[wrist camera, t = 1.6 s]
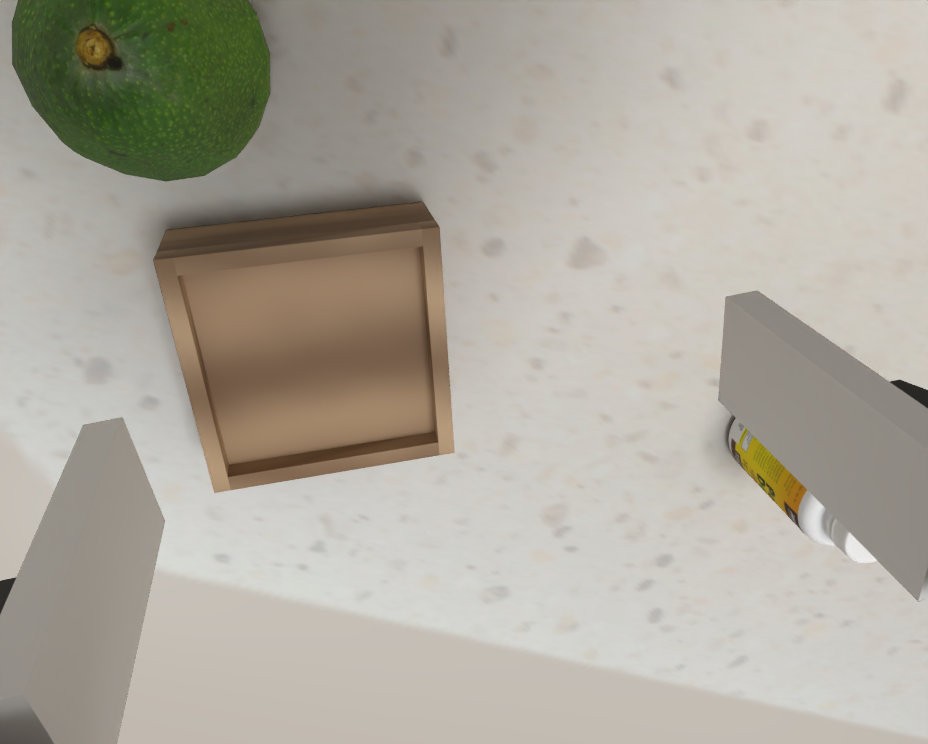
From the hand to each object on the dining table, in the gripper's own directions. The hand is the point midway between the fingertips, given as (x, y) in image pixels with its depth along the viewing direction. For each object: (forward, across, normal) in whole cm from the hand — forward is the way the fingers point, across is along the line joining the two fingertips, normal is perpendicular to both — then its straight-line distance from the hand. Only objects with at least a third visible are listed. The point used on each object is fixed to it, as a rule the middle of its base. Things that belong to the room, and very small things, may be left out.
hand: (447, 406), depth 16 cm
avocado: (+20, -7, +6) cm, 22 cm away
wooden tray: (+20, -4, -7) cm, 22 cm away
